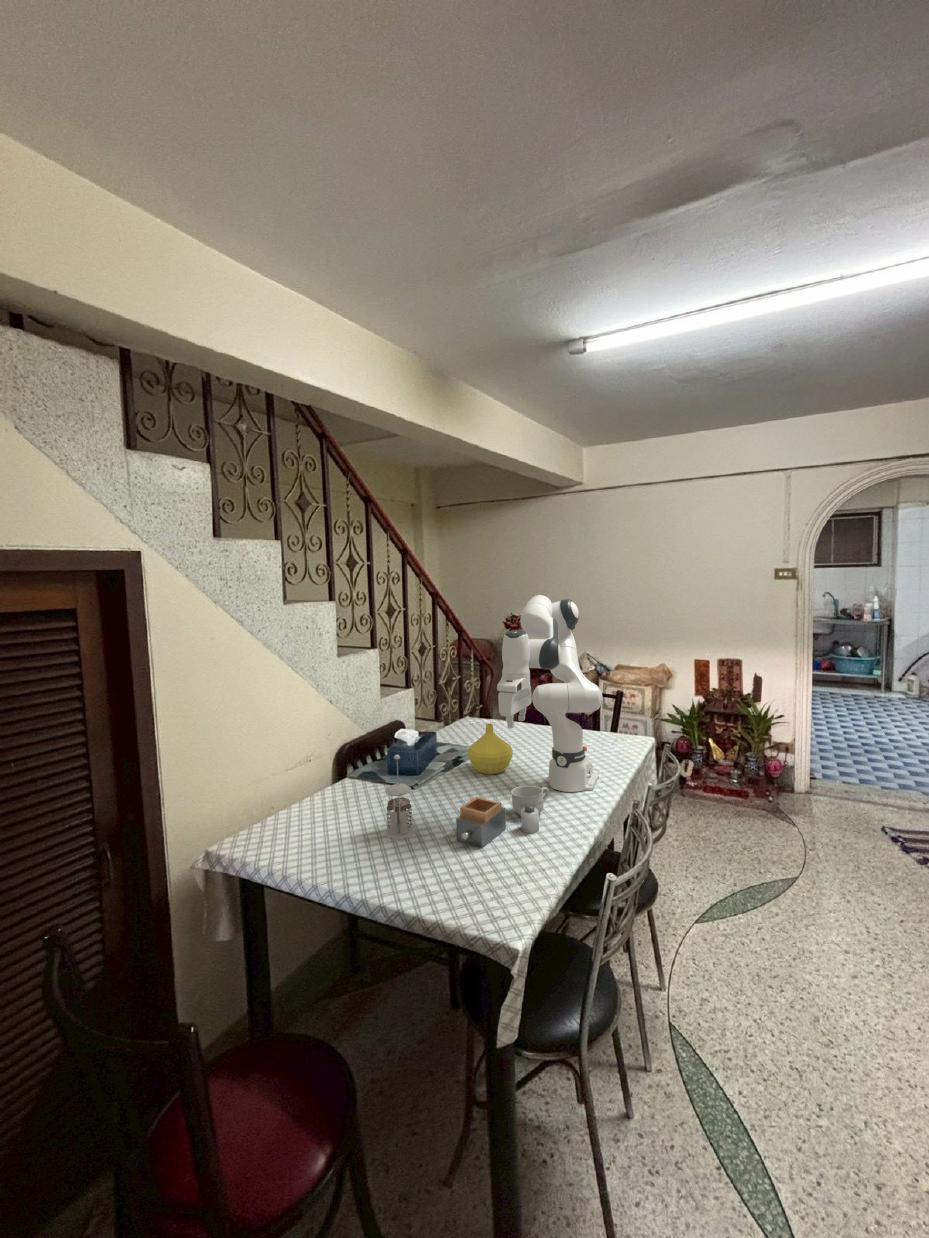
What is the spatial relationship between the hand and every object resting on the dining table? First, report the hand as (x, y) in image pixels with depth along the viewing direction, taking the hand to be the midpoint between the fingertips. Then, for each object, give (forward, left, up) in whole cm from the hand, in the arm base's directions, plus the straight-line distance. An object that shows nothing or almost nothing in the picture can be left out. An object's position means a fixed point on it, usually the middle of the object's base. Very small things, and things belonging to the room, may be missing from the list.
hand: (516, 724), depth 174 cm
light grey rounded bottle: (+3, +6, -32) cm, 33 cm away
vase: (-35, -32, -32) cm, 57 cm away
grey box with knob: (+16, -5, -32) cm, 36 cm away
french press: (+26, -28, -32) cm, 50 cm away
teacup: (-8, +1, -32) cm, 33 cm away
